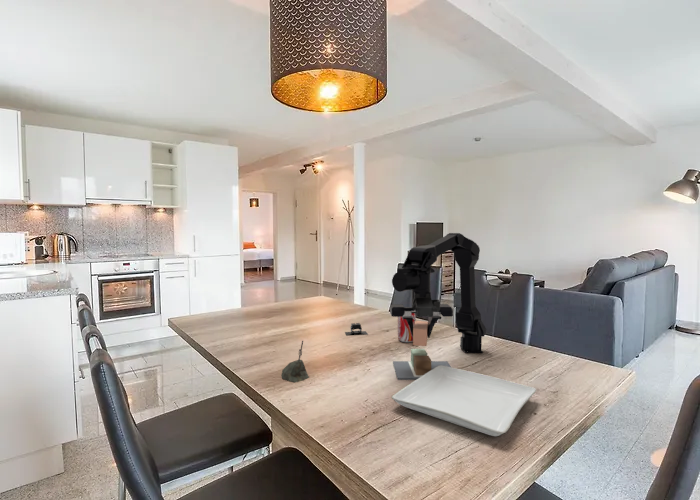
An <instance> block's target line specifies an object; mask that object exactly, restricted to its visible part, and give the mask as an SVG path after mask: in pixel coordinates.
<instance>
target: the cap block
mask: <svg viewBox="0 0 700 500" xmlns="http://www.w3.org/2000/svg"><path fill="white" fill-rule="evenodd" d="M427 329H428V321H426V320H425V321H424V320H416V321H415V324H414V328H413V342H412V345H413V346H417V347H418V346H420V347H427V346H428V345H427V344H428V339H429V338H428V335H427Z"/></svg>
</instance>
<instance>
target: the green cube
mask: <svg viewBox="0 0 700 500" xmlns="http://www.w3.org/2000/svg"><path fill="white" fill-rule="evenodd" d="M414 356H428V352H427V350H426V349H425V348H410V361H411V364H412V367H414Z"/></svg>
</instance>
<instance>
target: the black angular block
mask: <svg viewBox="0 0 700 500" xmlns="http://www.w3.org/2000/svg"><path fill="white" fill-rule="evenodd" d="M349 328H350V331H344V333H345V336H347V337H348V336H349V337H350V336H366V335H367V336H368V335H369V333H368V332H367V331H366V330H365V331H364V330H363V329H362V328H363V327H362V326H361V323H360V322H358V323H357V322H356V323H355V322H354V323H350V327H349Z"/></svg>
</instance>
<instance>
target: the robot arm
mask: <svg viewBox="0 0 700 500" xmlns="http://www.w3.org/2000/svg"><path fill="white" fill-rule="evenodd" d="M448 251H451V252H452V253H453V256H454V261H455V262H456V264H457V266H458V267H459V278H460V280H459V281H460V282H459V283H460V308H459V309H458V311H456V312H455V323H456V328H457V332H458V333H460V334H461V336H460V342H459V343H460V344H459V345H460V349H461V350H462V352H464V353H465V354H473V353H474V354H483V353H484V351H483V350H482V343H483V342H482V339H483V337H485V336H486V333H487V330H488V329H487V328H486V326H485V325H484V323H483V322H482V316H481V313H480V311H479V309H478V308H477V306H476V305H477V304H476V283H475V281H476V280H475V278H476V277H475V267H476V265H477V263H478V261H479V260H480V246H479V245H478V244H477V242H475V241H474V240H472V239H470V238H468V237H466V236H464V234H462V233H459V232H449V233H446V235H444V236H442V237H441V238H438V239H436V240H434V241H433V242H431V243H429V244H426V245H418V246H414V247H412V248H410V249H409V253H408V254H407V256H406V258H405V261H404V262H403V265H402V266H401V267H399V268H396V269H397V272H396V273H394V275H393V276H392V279H391V283H392V288H393V289H394V290H395V291H397V292H400V293H401V292H406V291H411V306H404V304H401V303H399V304H398V303H397V304H394V303H393V304H390V306H389V313H390V315H391V317H397V318H398V317H402V318H403V319H406V321H407V323H408V325H409V329H410V332H411V335H412V338H413V317H412V316H411V313H415V316H417V317H419V318H422V317H427V319H428V321H427V322H428V329H427V335H428V338H427V339H429V338H430V337H431V334H432V332H433V329H434V326H435V324H436V323H437V321H438V320H441V319H442V317H454V309H453V307H452V306H450V305H449V304H448V303H441V301H440V299H432V297H431V296H432V294H431V279H432V277H431V275H432V273H433V274H435V271H436V270H434V268H432V265H434V264H435V263H436V262H437V260H438V257H439V256H441V255H443V254H444V253H446V252H448Z"/></svg>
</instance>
